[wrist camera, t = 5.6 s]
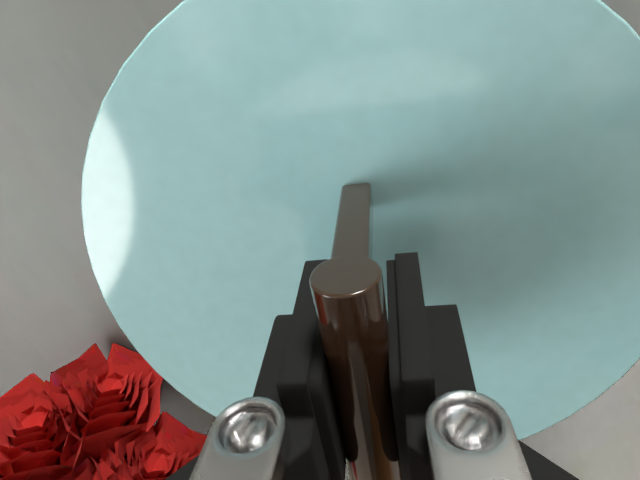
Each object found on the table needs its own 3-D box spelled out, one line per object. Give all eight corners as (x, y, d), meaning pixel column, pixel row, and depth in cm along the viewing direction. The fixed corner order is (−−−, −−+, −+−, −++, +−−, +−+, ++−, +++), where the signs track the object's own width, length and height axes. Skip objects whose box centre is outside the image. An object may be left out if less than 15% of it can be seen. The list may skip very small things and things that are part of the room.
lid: (193, 438, 19) (127, 610, 14) (0, 3, 11) (-299, 40, 6) (624, 431, 16) (733, 641, 11) (757, -145, 9) (1284, -284, 4)
